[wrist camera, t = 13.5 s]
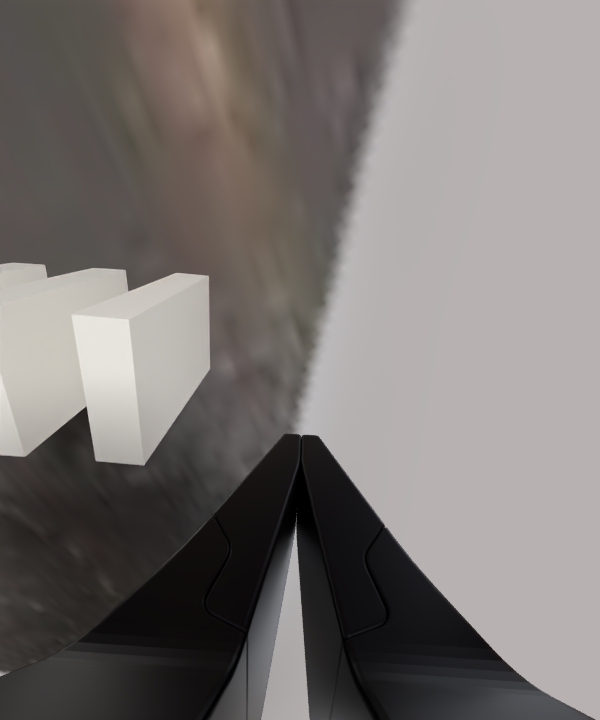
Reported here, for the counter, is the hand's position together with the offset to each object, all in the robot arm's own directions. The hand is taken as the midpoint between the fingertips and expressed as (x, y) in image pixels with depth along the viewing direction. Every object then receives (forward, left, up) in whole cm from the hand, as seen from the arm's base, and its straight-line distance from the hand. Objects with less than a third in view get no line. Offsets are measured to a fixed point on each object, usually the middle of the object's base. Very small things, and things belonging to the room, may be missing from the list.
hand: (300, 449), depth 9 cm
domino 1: (0, +10, -10) cm, 14 cm away
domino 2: (0, +6, -10) cm, 12 cm away
